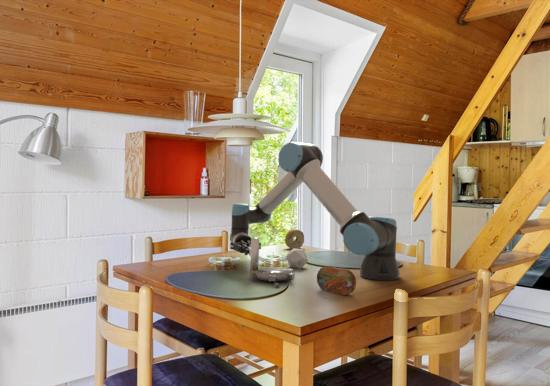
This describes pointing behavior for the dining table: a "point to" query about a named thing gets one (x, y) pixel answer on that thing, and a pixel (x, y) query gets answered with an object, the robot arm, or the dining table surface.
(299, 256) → the die
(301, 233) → the stone disc
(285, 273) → the sprocket
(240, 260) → the dining table surface
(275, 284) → the timing pointer
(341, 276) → the tin
